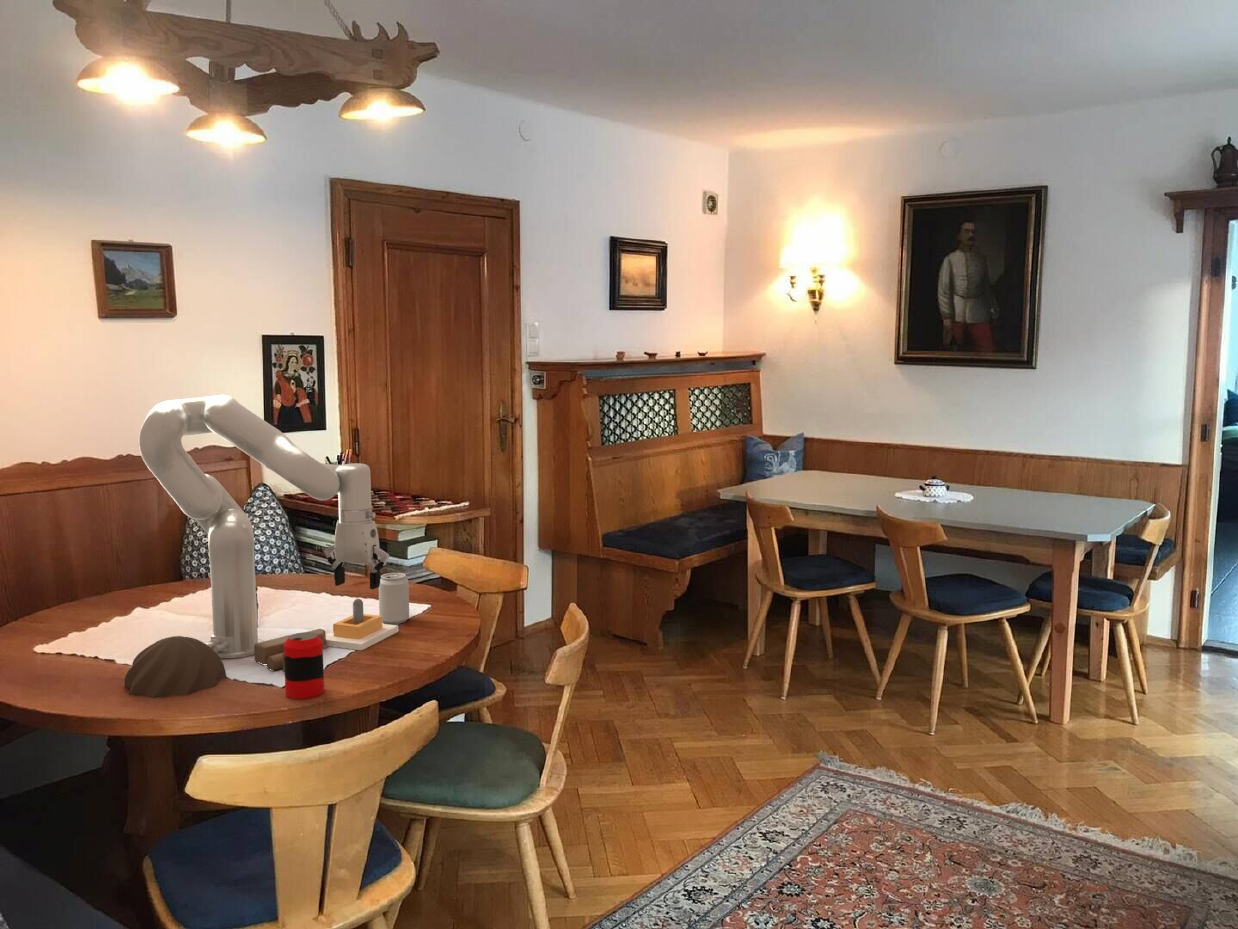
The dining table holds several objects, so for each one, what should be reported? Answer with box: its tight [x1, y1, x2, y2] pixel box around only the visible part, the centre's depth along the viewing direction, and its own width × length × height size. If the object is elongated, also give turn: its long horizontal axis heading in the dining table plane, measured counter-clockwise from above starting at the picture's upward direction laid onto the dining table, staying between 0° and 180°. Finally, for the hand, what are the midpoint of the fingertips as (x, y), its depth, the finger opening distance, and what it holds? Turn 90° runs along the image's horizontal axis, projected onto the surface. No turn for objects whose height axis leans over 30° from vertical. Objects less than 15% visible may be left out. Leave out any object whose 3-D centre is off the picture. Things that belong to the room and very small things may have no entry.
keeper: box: [325, 598, 399, 651], centre depth 246 cm, size 16×12×10 cm
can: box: [378, 572, 410, 625], centre depth 260 cm, size 8×8×12 cm
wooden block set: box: [254, 628, 327, 673], centre depth 229 cm, size 17×6×18 cm
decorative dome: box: [123, 635, 227, 699], centre depth 215 cm, size 19×20×10 cm
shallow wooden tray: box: [332, 613, 383, 639], centre depth 246 cm, size 10×7×3 cm
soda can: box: [284, 631, 325, 700], centre depth 208 cm, size 8×8×12 cm
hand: (357, 586), depth 245 cm, fingers open, 9 cm apart
